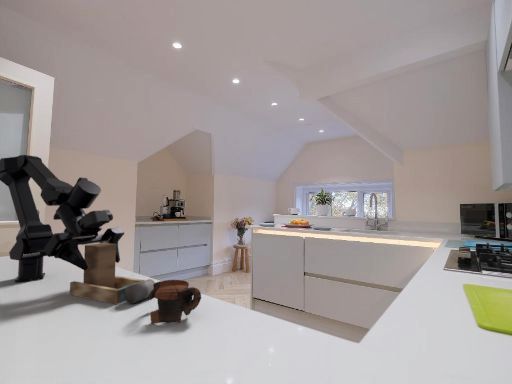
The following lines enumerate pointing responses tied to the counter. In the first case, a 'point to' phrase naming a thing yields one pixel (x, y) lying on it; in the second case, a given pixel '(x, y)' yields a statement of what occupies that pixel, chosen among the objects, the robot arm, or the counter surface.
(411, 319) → the counter surface
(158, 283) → the pottery mug
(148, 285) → the wooden u-shaped frame
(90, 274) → the tall brown box
